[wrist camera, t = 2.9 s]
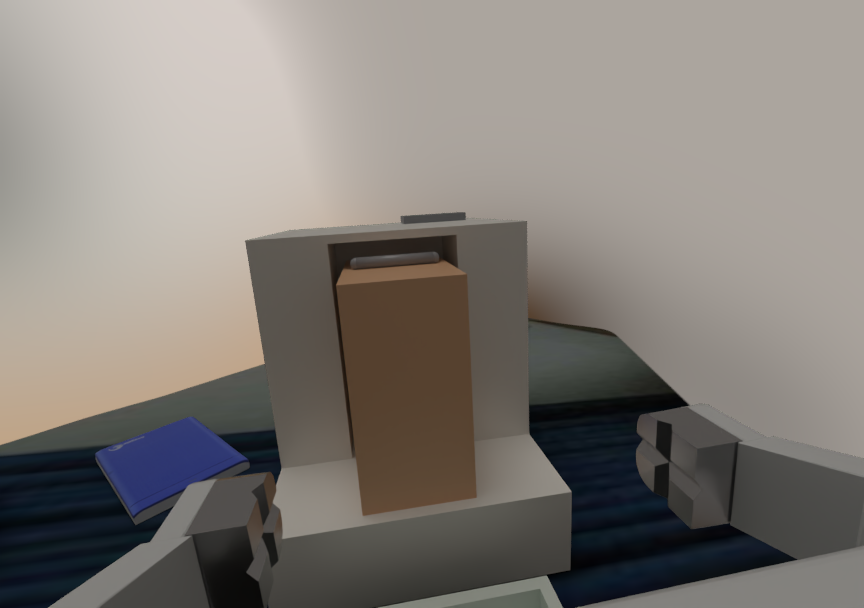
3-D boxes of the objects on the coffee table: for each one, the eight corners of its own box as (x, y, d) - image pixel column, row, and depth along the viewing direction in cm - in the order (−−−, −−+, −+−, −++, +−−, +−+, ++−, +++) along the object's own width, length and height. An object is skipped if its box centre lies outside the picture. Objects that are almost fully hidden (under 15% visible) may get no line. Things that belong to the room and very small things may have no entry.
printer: (272, 626, 21) (200, 235, 17) (317, 428, 40) (289, 223, 36) (570, 569, 23) (576, 210, 19) (477, 407, 42) (470, 211, 38)
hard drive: (93, 451, 37) (132, 513, 29) (193, 414, 43) (248, 456, 35) (98, 467, 37) (137, 532, 29) (195, 428, 43) (251, 473, 35)
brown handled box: (362, 515, 21) (334, 270, 18) (363, 421, 31) (345, 250, 28) (476, 497, 22) (466, 260, 19) (443, 410, 32) (433, 244, 29)
